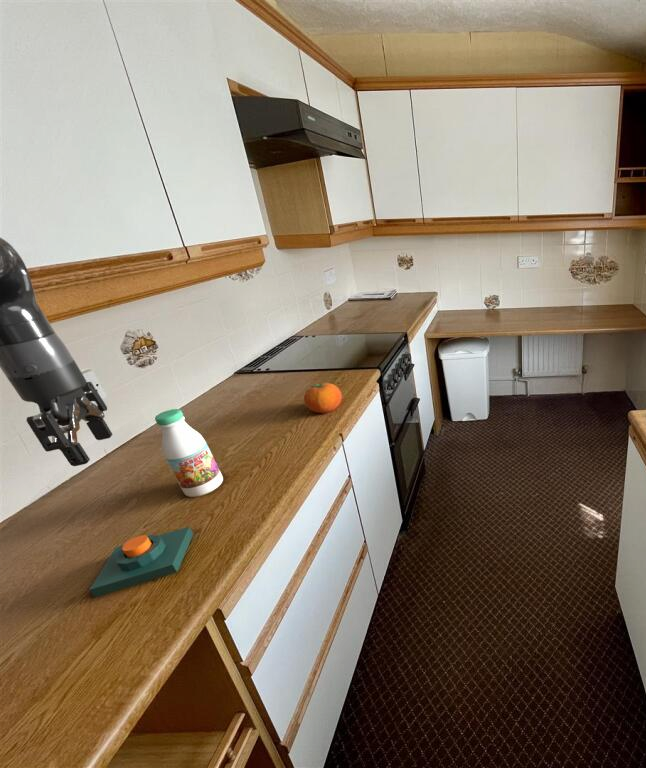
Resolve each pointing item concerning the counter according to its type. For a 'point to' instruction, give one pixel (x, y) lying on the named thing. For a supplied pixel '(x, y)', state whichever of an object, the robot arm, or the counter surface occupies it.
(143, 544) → the orange push button
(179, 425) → the milk bottle
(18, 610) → the counter surface
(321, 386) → the fruit
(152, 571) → the cap housing
